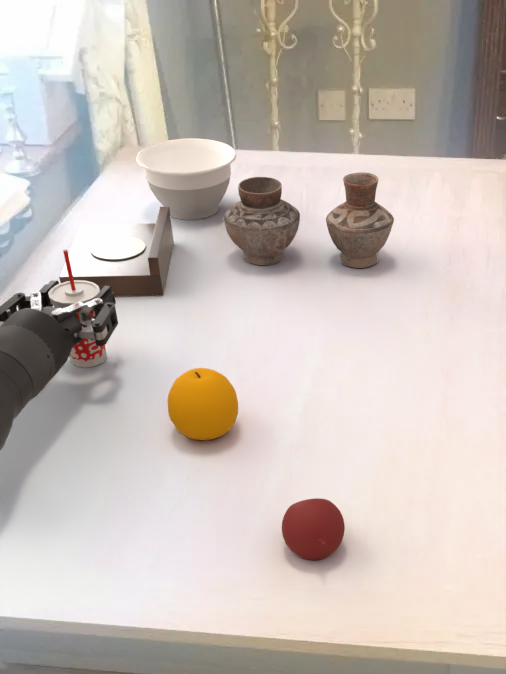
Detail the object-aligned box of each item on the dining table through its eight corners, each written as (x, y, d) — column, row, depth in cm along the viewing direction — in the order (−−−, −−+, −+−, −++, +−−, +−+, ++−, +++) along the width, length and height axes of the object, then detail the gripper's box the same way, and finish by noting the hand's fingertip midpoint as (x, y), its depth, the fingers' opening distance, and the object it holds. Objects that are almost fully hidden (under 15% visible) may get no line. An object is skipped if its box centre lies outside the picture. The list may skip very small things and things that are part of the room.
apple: (224, 455, 100) (218, 397, 94) (160, 443, 101) (150, 385, 96) (250, 417, 105) (246, 360, 100) (188, 406, 107) (180, 349, 102)
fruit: (286, 575, 89) (289, 549, 81) (277, 521, 90) (280, 491, 83) (346, 567, 90) (355, 541, 82) (337, 514, 91) (345, 483, 83)
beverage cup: (72, 375, 112) (47, 266, 102) (57, 353, 116) (31, 246, 106) (119, 362, 114) (99, 254, 104) (103, 341, 118) (82, 235, 108)
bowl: (198, 183, 157) (193, 131, 151) (260, 208, 149) (256, 154, 143) (124, 209, 149) (115, 155, 143) (185, 237, 141) (178, 181, 135)
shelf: (63, 297, 127) (55, 259, 123) (83, 244, 139) (76, 207, 136) (163, 295, 127) (157, 257, 123) (173, 242, 140) (169, 206, 136)
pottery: (391, 278, 131) (395, 194, 123) (221, 273, 132) (213, 189, 124) (392, 245, 139) (396, 164, 131) (232, 241, 140) (226, 160, 132)
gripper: (75, 333, 96) (133, 266, 107) (-48, 319, 98) (22, 255, 109) (89, 395, 101) (143, 324, 112) (-28, 380, 103) (36, 312, 115)
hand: (83, 290), depth 111 cm, fingers open, 6 cm apart
